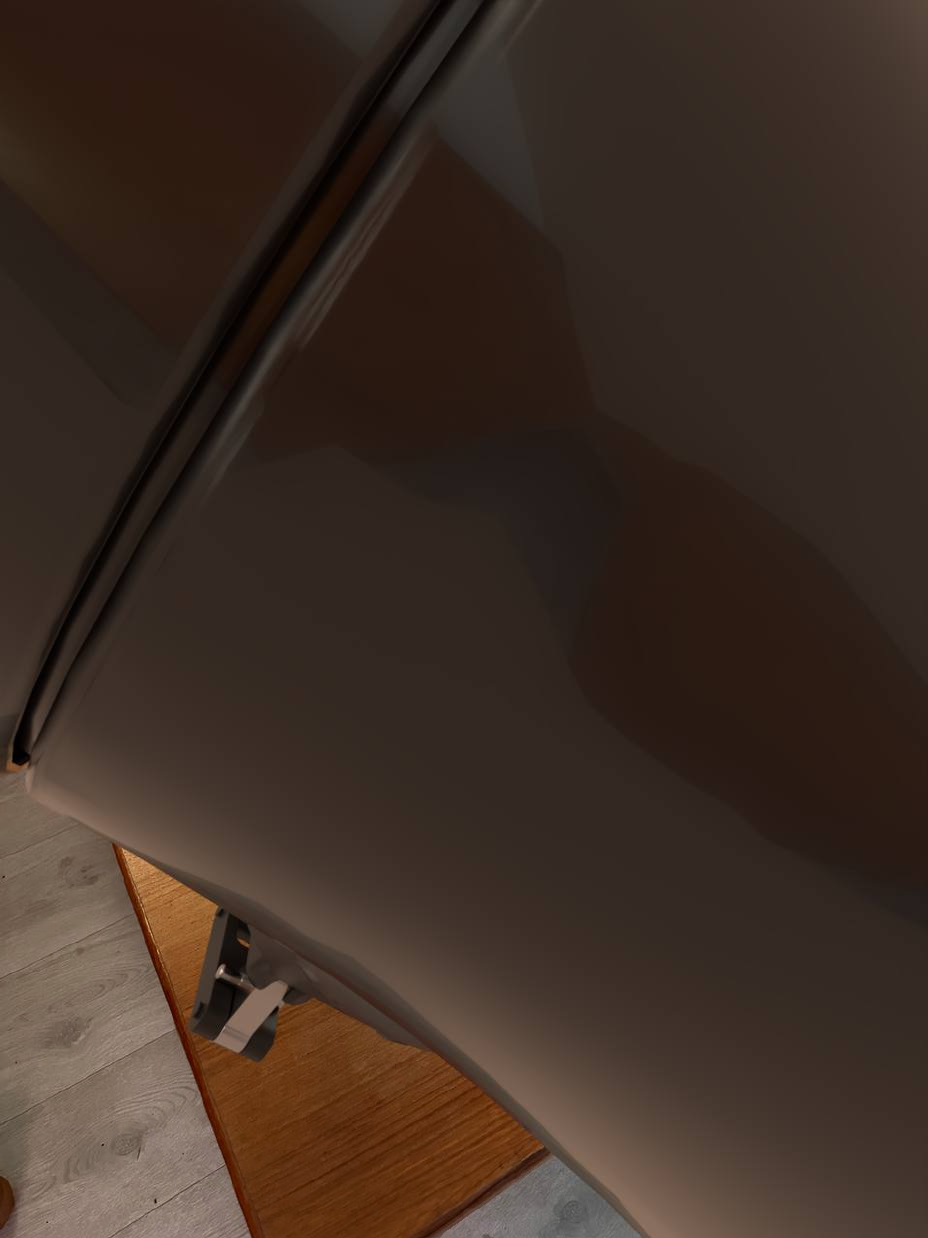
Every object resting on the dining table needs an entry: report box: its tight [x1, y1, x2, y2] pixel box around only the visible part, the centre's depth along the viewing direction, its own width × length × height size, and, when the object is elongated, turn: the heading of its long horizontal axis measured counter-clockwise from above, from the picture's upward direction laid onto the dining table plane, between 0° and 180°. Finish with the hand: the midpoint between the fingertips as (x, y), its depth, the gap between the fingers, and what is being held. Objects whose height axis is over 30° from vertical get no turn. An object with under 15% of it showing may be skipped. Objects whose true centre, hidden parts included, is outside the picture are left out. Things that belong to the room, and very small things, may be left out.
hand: (252, 856), depth 37 cm, fingers closed
